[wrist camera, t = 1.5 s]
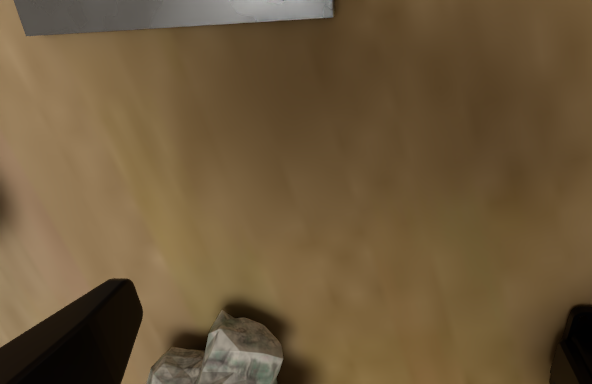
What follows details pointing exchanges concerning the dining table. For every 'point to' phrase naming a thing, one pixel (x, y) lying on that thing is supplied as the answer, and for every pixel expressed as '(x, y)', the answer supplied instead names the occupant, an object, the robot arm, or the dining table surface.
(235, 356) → the stone
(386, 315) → the dining table surface
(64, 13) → the stand base
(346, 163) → the dining table surface
